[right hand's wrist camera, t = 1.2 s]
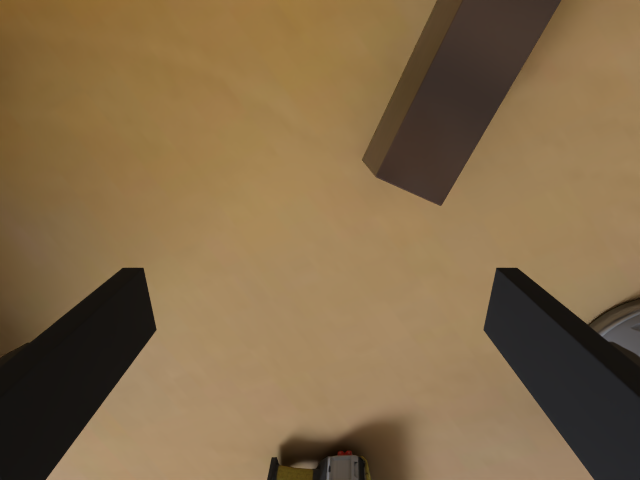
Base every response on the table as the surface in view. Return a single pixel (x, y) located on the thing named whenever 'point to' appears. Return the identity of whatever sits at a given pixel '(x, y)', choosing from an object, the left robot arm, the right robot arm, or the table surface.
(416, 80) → the plank
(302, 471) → the toy gun
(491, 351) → the table surface
